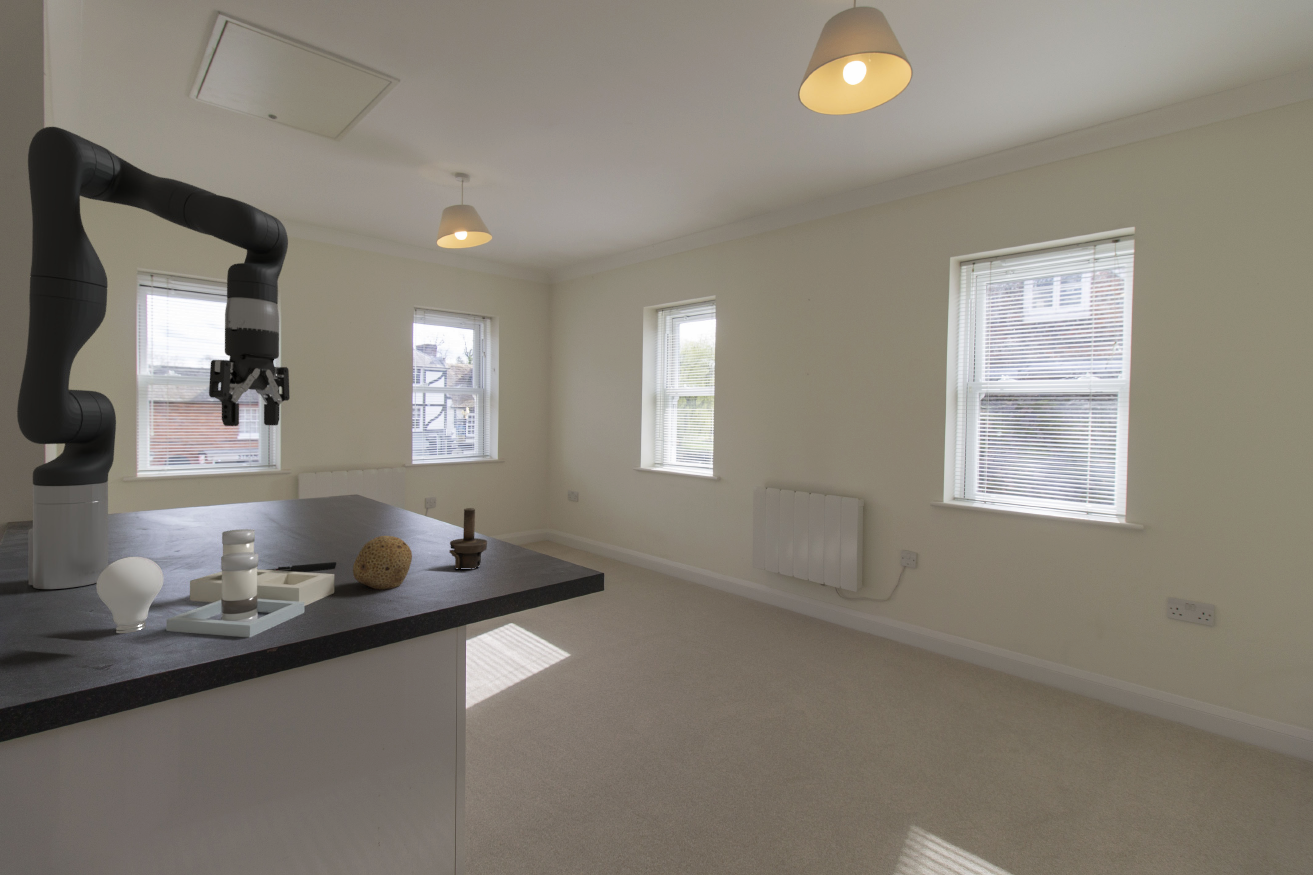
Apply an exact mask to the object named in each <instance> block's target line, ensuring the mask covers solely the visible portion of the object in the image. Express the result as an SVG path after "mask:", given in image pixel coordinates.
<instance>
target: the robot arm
mask: <svg viewBox="0 0 1313 875" xmlns="http://www.w3.org/2000/svg"><path fill="white" fill-rule="evenodd" d="M28 148H29V149H28V154H27V169H28V181H29V182H28V183H29V190H30V191H29V192H30V203H31V215H32V232H31V233H32V238H31V241H32V242H31V244H32V246H31V248H32V250H31V266H30V275H29V276H30V277H29V297H28V298H29V315H28V316H29V317H28V334H27V335H28V336H27V343H26V344H27V345H26V346H27V347H26V356H25V361H24V368H23V372H22V378H21V383H20V388H19V394H18V400H17V408H16V409H17V410H16V412H17V413H16V414H17V415H16V417H17V423H18V427H19V430H20V432H21V434H22V435H23V437H24V438H25V439H26V440H28V441H29V442H31V443H34V444H38V445H64V448H63V451H62V452H61V453H60V454H59V455H58V456H57V457H55V458H54V459H52V460H50V461H48V462H46V463H43V464H41V465H38V466H37V467H34V469H33V472H32V528H30V529H29V530H28V532H27V534H28V536H27V537H28V540H27V541H28V546H27V548H28V552H27V554H28V556H27V557H28V566H27V567H28V585H29V586H32V587H33V588H34V589H37V590H57V589H58V590H59V589H69V588H70V589H71V588H76V587H83V586H88V585H89V586H90V585H93V584H97V580H98V578H99V576H100V574H101V573H102V571H103V570H104V569H105V568H106V567H107V566H109V473H110V470H112V469H111V468H112V466H113V464H114V463H113V462H114V458H115V456H114V455H115V443H116V442H115V441H116V430H117V418H116V411H115V407H114V405H113V403H112V401H111V400H110V399H109V398H108V396H106V395H105V394H104V393H101V392H100V391H96V390H95V391H94V390H85V389H84V390H83V389H70V385H69V384H70V378H71V376H70V375H71V370H72V367H73V363H74V360H75V358H76V357H77V355H78V353H79V352H80V350H81V349H82V348H83V347H84V346H85V344H86V343H87V342H88V341H89V339H91V338H92V336H93V335H94V334H95V333H96V332H97V330H98V329H99V328H100V326H101V324H102V323H103V321H104V320H105V317H106V312H107V306H108V305H107V302H108V276H107V273H106V270H105V267H104V265H103V263H102V260H101V259H100V257H99V255H98V253H97V251H96V249H95V247H94V246H93V244H92V242H91V240H90V238H89V236H88V234H87V232H86V231H85V227H84V225H83V224H84V223H83V220H82V216H81V197H83V198H86V199H89V200H94V201H99V202H100V201H101V202H105V203H112V204H117V205H123V206H129V207H133V208H136V209H141V210H144V211H147V212H149V213H151V214H153V215H155V216H157V217H159V218H161V219H163V220H166V221H168V222H170V223H172V224H175V225H178V226H181V227H184V228H186V229H189V230H192V231H195V232H198V233H200V234H204V235H208V236H211V237H214V238H216V239H219V240H221V241H223V242H225V243H228V244H231V245H233V246H236V247H239V248H241V249H244V250H246V255H245V256H246V257H245V259H244V262H242V263H240V262H239V263H234V264H232V265H230V266H229V268H228V269H227V276H226V277H227V278H226V279H227V280H226V284H227V285H226V298H227V299H226V304H225V305H226V306H225V312H224V353H225V355H227V356H228V357H229V360H228V359H212V360H211V361H210V371H209V372H210V373H209V385H208V387H209V390H208V396H209V397H210V398H214V399H216V400H218V401H219V402H220V403H221V421H222V425H223V426H225V427H238V426H239V425H240V403H239V402H238V401H239V400H240V399H241V397H242V395H243V394H244V393H246V392H248V391H249V390H251V391H253V390H254V391H255V392H256V393H257V394H258V395H260V396H261V398H262V400H263V402H264V404H263V425H265V426H278V425H279V422H280V405H281V404H282V403H283V402H285V401H287V402H288V401H289V400H290V374H289V372H290V370H289V368H288V367H287V366H275V362H274V360H276V359H278V358H279V356H280V314H279V308H278V306H279V304H278V302H279V301H278V300H279V298H278V297H279V293H278V292H279V291H278V288H279V285H278V284H279V283H278V281H279V278H280V275H281V272H282V270H283V266H284V262H285V259H286V256H287V252H288V247H289V238H288V233H287V229H286V228H285V225H284V224H283V223H282V222H281V220H280V219H278V218H277V217H275V216H273V215H271V214H269V213H268V212H265V211H263V210H261V209H259V208H257V207H255V206H253V205H251V204H249V203H246V202H244V201H241V200H239V199H235V198H232V197H228V196H224V195H219V194H216V193H215V192H212V191H210V190H206V189H204V188H201V187H198V186H195V185H193V184H191V183H187V182H185V181H181V180H177V179H173V178H168V177H163V176H162V177H161V176H157V175H156V174H155V175H154V174H151V173H150V172H147V171H145V170H143V169H141V168H139V167H138V166H135V165H133V164H131V163H130V162H128V161H126V160H125V159H123V158H121V157H120V156H118V155H116V154H115V153H113V152H112V151H111V150H109V149H108V148H106V147H104V146H102V145H100V144H98V143H95V142H93V141H91V140H89V139H86V138H84V137H82V136H81V135H78V134H75V133H73V132H71V131H69V130H67V129H64V128H61V127H58V126H46V127H44V128H41V129H40V130H38V131H36V133H35V134H34V136H33V137H32V138H31V141H30V144H29V147H28ZM219 386H220V389H219ZM280 388H281V393H280Z"/></svg>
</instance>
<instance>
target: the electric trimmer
mask: <svg viewBox="0 0 1313 875" xmlns="http://www.w3.org/2000/svg"><path fill="white" fill-rule="evenodd" d="M336 566H337V561H332V562H321V563H320V562H319V563H309V564H296V565H291V566H290V565H289V566H278V567H277V568H268V569H266V570H275V571H291V572H306V573H313V572H320V571H321V572H322V571H328V570H335V569H336Z"/></svg>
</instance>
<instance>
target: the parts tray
mask: <svg viewBox="0 0 1313 875" xmlns="http://www.w3.org/2000/svg"><path fill="white" fill-rule="evenodd" d="M258 612H259V613H268V614H266V615H263V616H261V617H258V619H256V620H254V621H251V622H237V621H224V620H221V619H210V618H212V617H215V616H218V615H220V614H222V612H221V600H219V601H216V602H210V603H207V604H206V605H203V606H200V607H198V608H194V609H192V610H189V611H185V612H183V613H180V614H177V615H175V616H172V617H169V618H167V619H166V628H165V629H166V632H177V633H188V634H189V633H191V634H200V635H201V634H202V635H212V636H213V635H214V636H227V637H240V638H252V637H254V636H256V635H259V634H260V633H264V632H265V631H267V630H269V629H272V628H273V627H274V628H275V627H276V626H278V625H280V624H282V623H285V622H287V621H290V620H291V619H293V618H296V617H298V616H300V615H302V614H304V613H305V606H304V602H297V601H283V600H268V599H257V613H258Z"/></svg>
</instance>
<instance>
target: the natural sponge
mask: <svg viewBox="0 0 1313 875" xmlns="http://www.w3.org/2000/svg"><path fill="white" fill-rule="evenodd" d="M362 546H363V547H361V549H360V551H359V552H358V555H357V556H356V558H355V560H354V562H353V566H352V573H353V577H354V579H355V580H356V581H357V582H358V583H359V584H362V585H365V586H368V587H370V588H372V589H374V590H389V589H395V588H398V587H400V586H401V585H402V584H403V582H404V581H405V579H406V578H407V575H408V573H409V571H410V568H411V564H412V559H413V553H412V549H411V548H410V546H409V545H408V544H407V542H405V541H404V540H403V539H401V538H399V537H396V536H391V535H381V536H377V537H374V538H372V539H371V540H369V541H368V542H366V543H365V544H364V545H362Z"/></svg>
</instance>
